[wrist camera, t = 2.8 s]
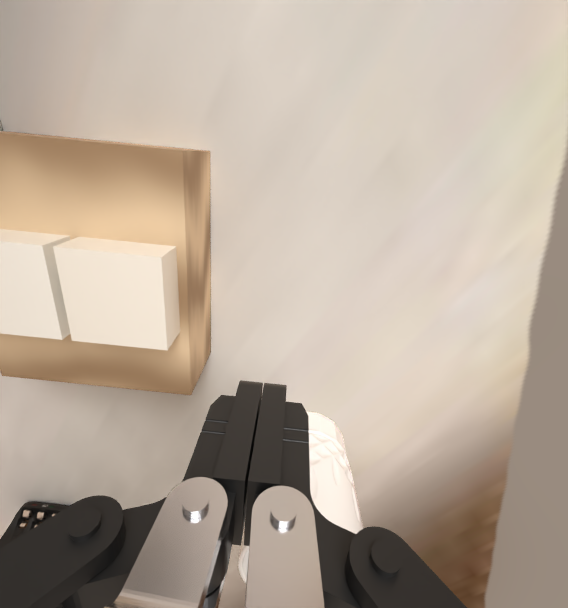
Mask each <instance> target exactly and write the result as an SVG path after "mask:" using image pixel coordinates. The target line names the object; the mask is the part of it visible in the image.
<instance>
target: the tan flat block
mask: <svg viewBox="0 0 568 608" xmlns="http://www.w3.org/2000/svg"><path fill="white" fill-rule="evenodd" d="M0 229H6V230H17V231H27V232H37V233H47V234H57V235H67V236H70V240H72V239H75V238H77V237H87V238H98V239H108V240H118V241H128V242H138V243H148V244H158V245H168V246H176V251H177V273H178V294H179V316H180V333H179V334H178V336H177V337H176V339H175V340H174V342H173V343H172V345H171V346H170V347H169V349H168V350H158V349H148V348H138V347H128V346H119V345H109V344H99V343H89V342H79V341H72V339H71V334H69V335H68V336H67V337H65V338H64V339H63V340H60V339H50V338H40V337H30V336H20V335H10V334H1V333H0V370H1V374H2V376H10V377H20V378H29V379H39V380H49V381H59V382H68V383H78V384H88V385H98V386H107V387H117V388H127V389H136V390H146V391H156V392H166V393H175V394H185V395H191V394H192V392H193V390H194V388H195V385H196V383H197V381H198V379H199V377H200V375H201V372H202V370H203V368H204V366H205V364H206V361H207V359H208V357H209V355H210V353H211V265H210V151H203V150H193V149H183V148H172V147H162V146H151V145H141V144H131V143H120V142H110V141H99V140H89V139H79V138H68V137H58V136H47V135H37V134H27V133H16V132H4V131H0Z"/></svg>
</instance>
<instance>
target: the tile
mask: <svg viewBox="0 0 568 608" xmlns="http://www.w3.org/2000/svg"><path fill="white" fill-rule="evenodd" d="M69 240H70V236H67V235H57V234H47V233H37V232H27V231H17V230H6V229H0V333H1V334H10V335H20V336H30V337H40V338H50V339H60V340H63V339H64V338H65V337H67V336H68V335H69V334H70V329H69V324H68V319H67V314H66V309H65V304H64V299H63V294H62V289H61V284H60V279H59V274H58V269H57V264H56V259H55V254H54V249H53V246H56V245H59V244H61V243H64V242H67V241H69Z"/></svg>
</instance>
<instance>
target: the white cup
mask: <svg viewBox="0 0 568 608" xmlns="http://www.w3.org/2000/svg"><path fill="white" fill-rule="evenodd" d="M306 412H307V414H308V420H309V461H310V492H311V497H312V500H313V502H314V504H315V506H316V508H317V509H318V511H319V512H320V513H321V514H322V515H323V516H324V517H325V518H326V519H328V520H329V521H330V522H332V523H334V524H336V525H338V526H340V527H342V528H344V529H346V530H348V531H351V532H353V533H355V534H357V533H358V532H359V531H360V530H362V529H364V527H363V523H362V518H361V513H360V508H359V503H358V498H357V493H356V489H355V485H354V482H353V476H352V472H351V468H350V465H349V462H348V459H347V455H346V450H345V445H344V440H343V435H342V433H341V431H340V430H339V428H338V427H337V425H336V424H335V423H334V421H332V420H331V419H329V418H327V417H325V416H323V415H321V414H320V413H316V412H308V411H306ZM244 531H245V530H244ZM248 556H249V546H245V545H244V535H243V540H242V545H241V550H240V555H239V560H238V570H239V573H240V576H241V578H242V580H243V581H244V582H245V584H246V581H247V569H248Z"/></svg>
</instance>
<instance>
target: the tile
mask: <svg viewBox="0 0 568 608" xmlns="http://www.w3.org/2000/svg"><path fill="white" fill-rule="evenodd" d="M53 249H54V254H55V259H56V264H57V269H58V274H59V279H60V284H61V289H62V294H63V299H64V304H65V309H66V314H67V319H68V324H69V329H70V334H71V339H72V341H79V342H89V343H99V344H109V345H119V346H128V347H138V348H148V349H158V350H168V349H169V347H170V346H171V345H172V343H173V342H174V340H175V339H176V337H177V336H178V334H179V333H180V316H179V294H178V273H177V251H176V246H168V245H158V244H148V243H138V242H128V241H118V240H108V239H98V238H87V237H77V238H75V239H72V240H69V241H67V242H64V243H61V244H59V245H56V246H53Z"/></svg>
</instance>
